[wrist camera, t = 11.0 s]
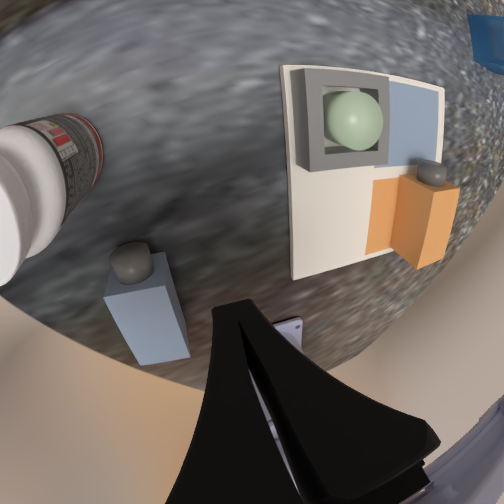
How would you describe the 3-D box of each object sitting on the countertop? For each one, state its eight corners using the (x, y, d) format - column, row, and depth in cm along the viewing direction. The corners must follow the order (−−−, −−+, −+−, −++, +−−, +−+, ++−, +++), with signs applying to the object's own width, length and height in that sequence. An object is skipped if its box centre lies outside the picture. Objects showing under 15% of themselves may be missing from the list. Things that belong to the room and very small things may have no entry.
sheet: (423, 237, 25) (426, 240, 25) (290, 276, 22) (293, 280, 22) (439, 87, 17) (444, 88, 16) (279, 65, 14) (282, 64, 13)
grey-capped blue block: (185, 320, 22) (190, 357, 19) (141, 328, 21) (140, 365, 18) (159, 231, 18) (158, 263, 14) (105, 243, 17) (94, 277, 13)
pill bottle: (59, 96, 11) (-49, 107, 3) (123, 145, 14) (62, 204, 6) (16, 171, 12) (-77, 246, 4) (75, 217, 15) (14, 324, 7)
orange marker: (416, 237, 24) (443, 258, 21) (389, 246, 23) (416, 269, 20) (429, 156, 19) (462, 171, 16) (400, 157, 19) (436, 173, 15)
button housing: (370, 157, 18) (387, 164, 16) (295, 164, 17) (309, 172, 15) (370, 76, 15) (388, 76, 13) (289, 70, 14) (304, 68, 12)
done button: (363, 142, 16) (382, 149, 15) (318, 145, 16) (335, 152, 14) (363, 92, 14) (382, 94, 13) (316, 90, 14) (333, 90, 12)
